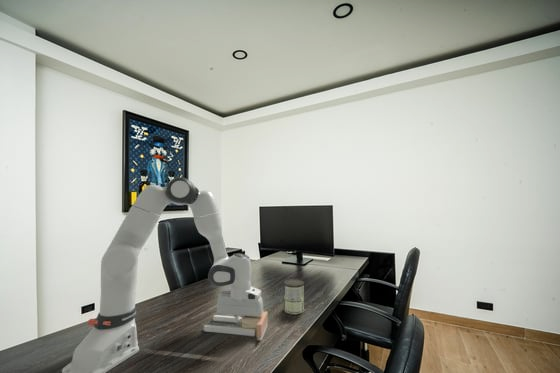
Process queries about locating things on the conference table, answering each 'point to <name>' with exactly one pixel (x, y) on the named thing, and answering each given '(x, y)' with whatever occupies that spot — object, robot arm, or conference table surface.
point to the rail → (233, 330)
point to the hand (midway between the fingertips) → (239, 324)
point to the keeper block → (250, 322)
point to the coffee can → (293, 296)
